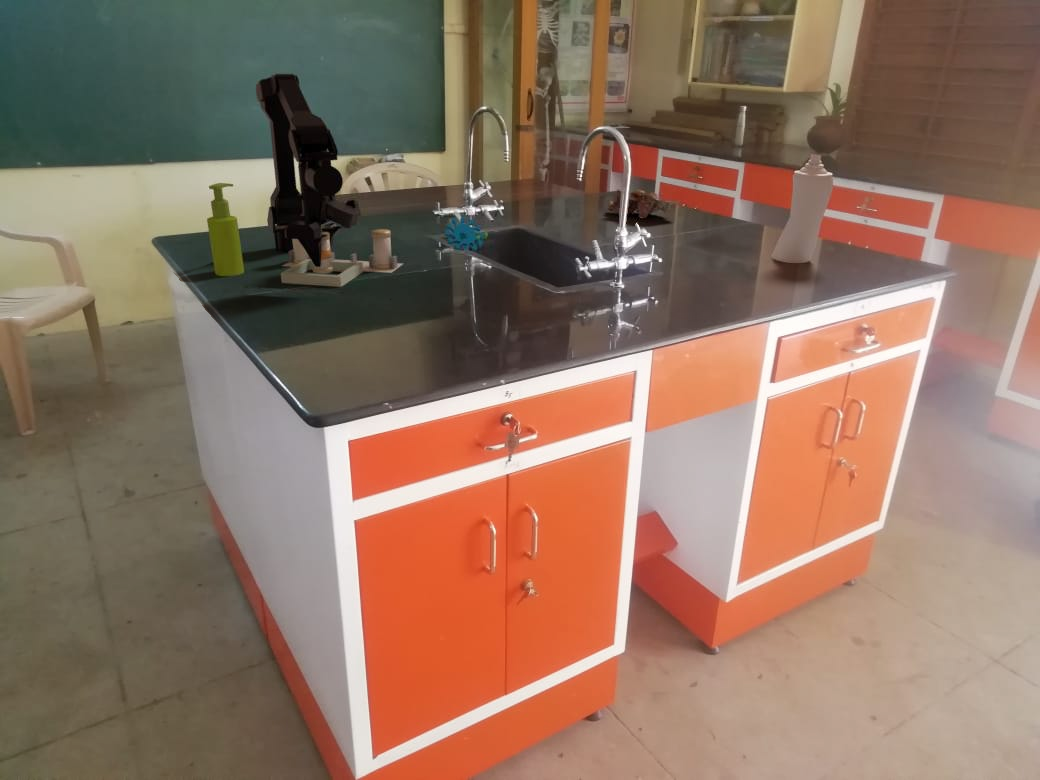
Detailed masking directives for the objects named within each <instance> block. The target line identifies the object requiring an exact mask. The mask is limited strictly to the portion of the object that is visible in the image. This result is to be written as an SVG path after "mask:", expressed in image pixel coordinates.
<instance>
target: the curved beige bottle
mask: <svg viewBox="0 0 1040 780" xmlns="http://www.w3.org/2000/svg"><path fill="white" fill-rule="evenodd" d="M821 158H822V155H821V154H816V153H815V154H810V158H809V159H808V160H807V162H806V163H805V165H804V167H801V168H800V170H795V171H794V174H793V175H792V192H791V204H790V215H789V219H788V220H787V222H786V224H785V227H784V228H783V231H782V233H781V235H780V237H779V239H778V241H777V243H776V245H775V247H774V250H773V252H772V255H771V259H773V260H775V261H777V262H781V263H788V264H805V263H809V262H810V260H811V258H812V256H813V254H814V252H815V250H816V246H817V242H818V238H819V235H820V234H819V233H820V229H821V225H822V220H823V218H824V216H825V213H826V209H827V206H828V205H829V202H830V199H831V196H832V193H833V192H834V177H833V173H832V172H829V171H827V169H825V168H824V167H825V164H822V163H823V162H822V160H821Z"/></svg>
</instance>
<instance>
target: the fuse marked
mask: <svg viewBox="0 0 1040 780" xmlns="http://www.w3.org/2000/svg"><path fill="white" fill-rule="evenodd" d="M322 235H327V237H326V238H325V239H324V240H323V241H322V251H321V266H320V267H315V265H314V264H313V270H312V271H313V274H324V275H328V274H330V273H332V272H334V271H333V267H332V262H331V252H332V249H331V248H330V234H329V233H328V232H322Z"/></svg>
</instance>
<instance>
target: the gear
mask: <svg viewBox="0 0 1040 780" xmlns="http://www.w3.org/2000/svg"><path fill="white" fill-rule="evenodd" d="M459 220H460V224H458V218H452V219H451V222H448V223H447V224H446V225H445V228H446V230H445V231H444V236H445V237H448V239H447V244H449V245H452V244H454V243H455V244H454V247H453V248H454V250H456V251H459V250H460V248H461V247H462V246H465V247H463V251H469V250H470V249H469V246H470V245H471V246H472V247H471V251H474V252H475V251H478V247H482V245H483V244H484V240H485V239H488V238H487V237H488V236H489V233H488V232H487V231H485V232H484V233H482V232H481V230H482V227H481V225H480V224H478V225H476V226H474V225H475V223H476V222H475V220H474V219H472V218H471V219H470V220H469V222H468V223H466V221H467V218H466V217H464V216H461V217H460V219H459ZM464 223H465V224H464ZM452 224H453V226H454V227H453V226H452ZM447 229H448V230H447ZM450 231H451V232H450ZM480 232H481V233H480ZM475 243H476V244H475Z"/></svg>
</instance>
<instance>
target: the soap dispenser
mask: <svg viewBox="0 0 1040 780" xmlns="http://www.w3.org/2000/svg"><path fill="white" fill-rule="evenodd" d="M233 186H234V184H233V183H228V182H227V183H224V182H218V183H214V184H210V185H209V186H208V188H209V190H213V196H214V199H212V200H211V201H210V204H211V205H210V206H211V213H212V216H210V217H208V218H206V223H207V229H208V235H209V242H210V247H211V255H212V261H213V267H214V275H216V276H220V277H231V276H232V277H234V276H238V275H239V276H240V275H241V274H244V273H245V270H244V269H245V268H244V261H243V260H244V259H243V254H242V246H241V239H240V233H239V224H238V218H237V216H233V215H231V212H230V211H231V210H230V205H229V201H228V200H226V199H225V198H224V194H223V189H224V188H227V187H233Z"/></svg>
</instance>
